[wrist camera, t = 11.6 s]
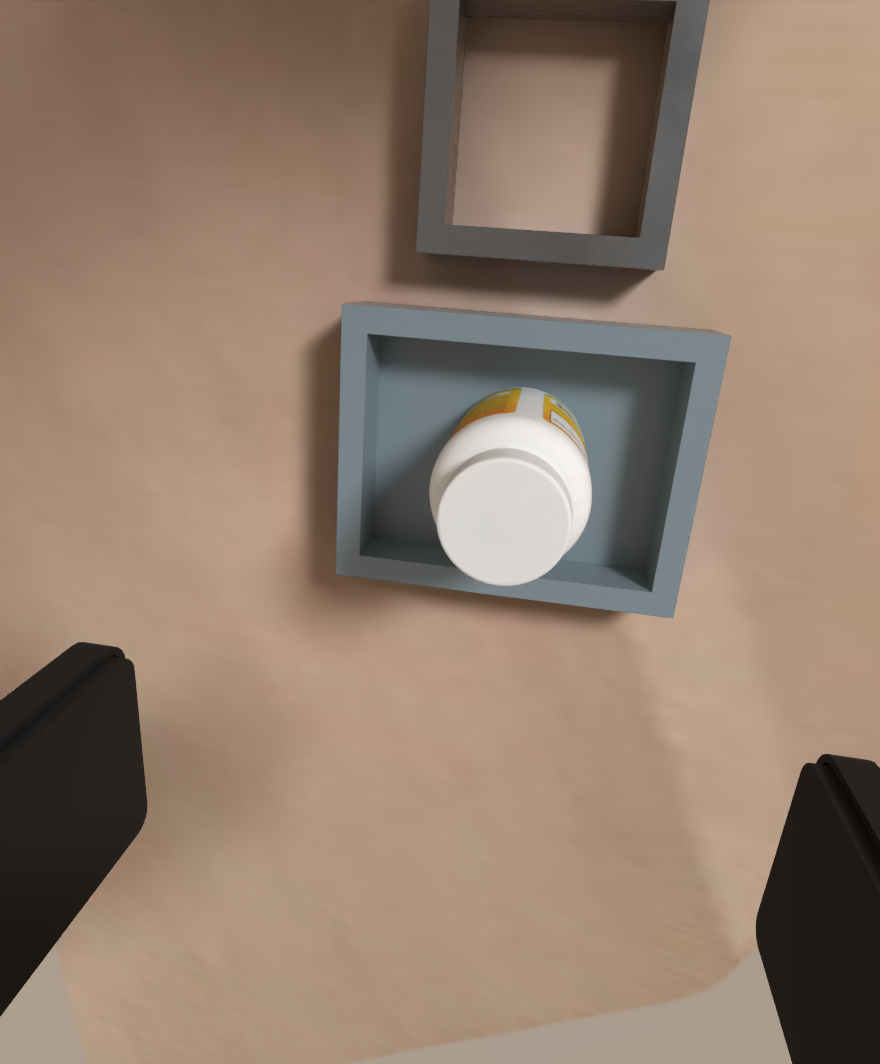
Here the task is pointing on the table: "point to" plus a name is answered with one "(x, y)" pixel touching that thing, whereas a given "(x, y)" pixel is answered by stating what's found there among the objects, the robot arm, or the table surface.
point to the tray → (574, 379)
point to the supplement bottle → (511, 487)
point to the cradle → (686, 15)
